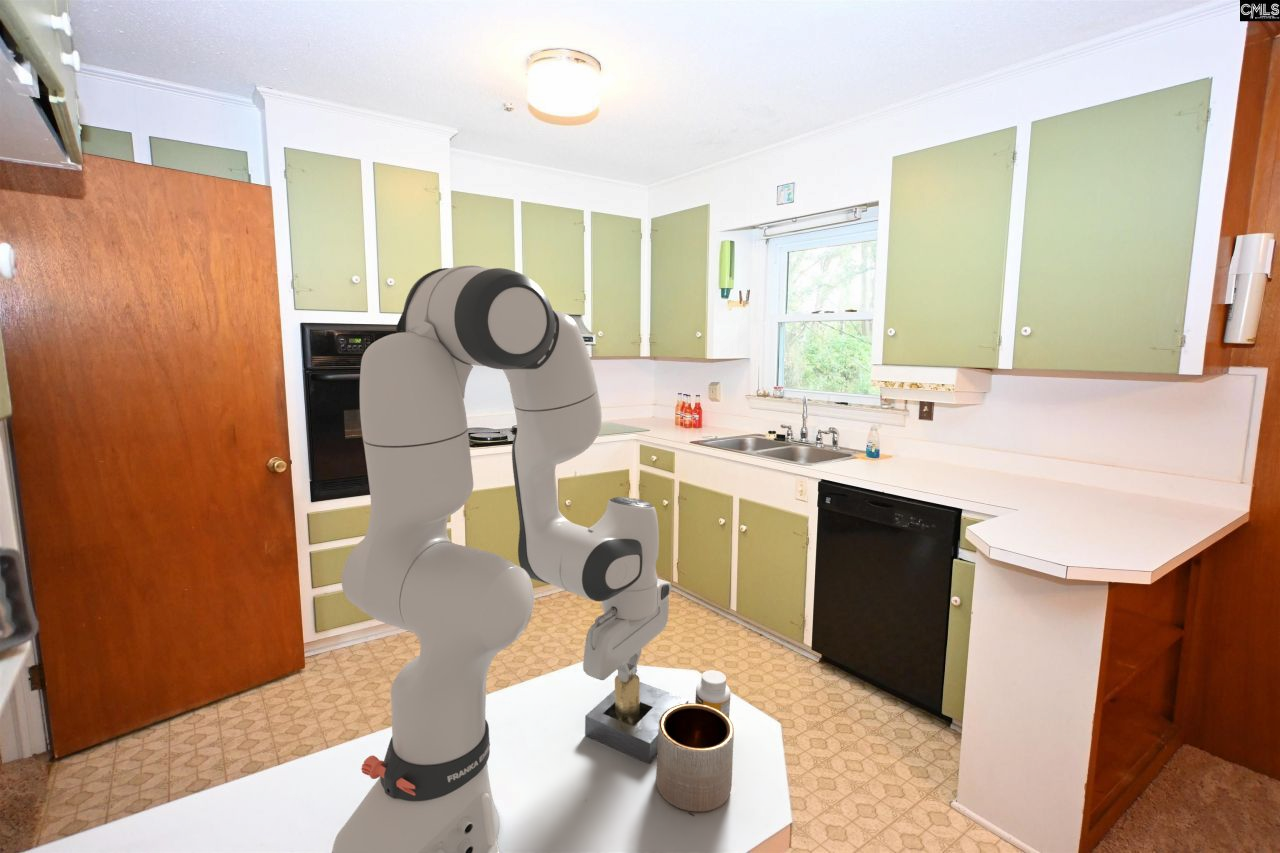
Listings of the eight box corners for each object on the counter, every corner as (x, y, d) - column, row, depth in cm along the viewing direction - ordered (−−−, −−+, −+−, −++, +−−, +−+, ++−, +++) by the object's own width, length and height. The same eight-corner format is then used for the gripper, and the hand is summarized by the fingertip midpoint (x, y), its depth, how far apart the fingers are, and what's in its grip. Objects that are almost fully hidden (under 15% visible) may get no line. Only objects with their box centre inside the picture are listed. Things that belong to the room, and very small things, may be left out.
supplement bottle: (686, 733, 98) (689, 675, 97) (709, 719, 102) (711, 663, 100) (713, 750, 94) (716, 690, 93) (735, 735, 98) (738, 677, 96)
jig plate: (649, 764, 91) (650, 743, 90) (585, 735, 97) (585, 715, 96) (687, 718, 102) (688, 699, 101) (627, 695, 108) (628, 677, 107)
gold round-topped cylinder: (633, 740, 96) (632, 689, 94) (611, 733, 98) (610, 682, 96) (643, 725, 99) (643, 676, 98) (622, 719, 101) (621, 670, 100)
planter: (728, 762, 92) (732, 705, 90) (733, 819, 81) (737, 755, 80) (658, 756, 93) (660, 699, 91) (653, 811, 82) (655, 748, 80)
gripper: (609, 628, 85) (607, 717, 87) (676, 580, 102) (673, 655, 104) (573, 616, 88) (572, 703, 90) (644, 572, 106) (642, 645, 108)
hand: (627, 677), depth 97 cm, fingers closed
